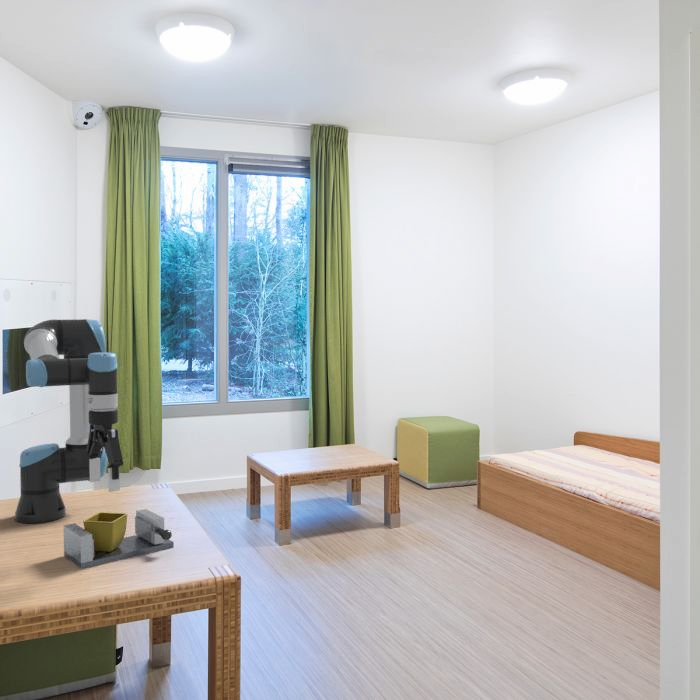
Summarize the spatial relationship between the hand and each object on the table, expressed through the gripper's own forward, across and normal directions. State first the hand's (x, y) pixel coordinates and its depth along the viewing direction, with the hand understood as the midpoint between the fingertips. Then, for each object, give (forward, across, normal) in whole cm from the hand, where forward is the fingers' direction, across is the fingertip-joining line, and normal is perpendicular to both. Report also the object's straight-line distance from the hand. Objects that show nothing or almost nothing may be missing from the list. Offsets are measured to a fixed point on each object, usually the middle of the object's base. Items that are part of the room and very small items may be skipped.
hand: (104, 486), depth 189 cm
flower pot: (+18, 0, 0) cm, 18 cm away
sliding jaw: (+17, +3, +13) cm, 22 cm away
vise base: (+19, 0, +4) cm, 19 cm away
